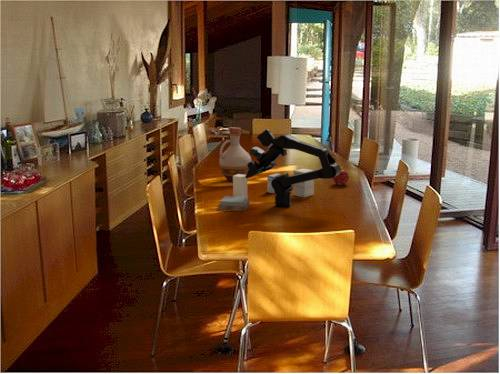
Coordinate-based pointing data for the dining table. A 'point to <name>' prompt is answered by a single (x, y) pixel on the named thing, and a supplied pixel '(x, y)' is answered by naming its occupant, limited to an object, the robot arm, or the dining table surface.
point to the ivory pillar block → (240, 185)
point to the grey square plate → (235, 207)
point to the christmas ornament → (341, 177)
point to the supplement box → (303, 185)
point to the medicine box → (269, 180)
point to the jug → (234, 156)
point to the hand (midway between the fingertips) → (250, 176)
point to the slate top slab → (233, 201)
